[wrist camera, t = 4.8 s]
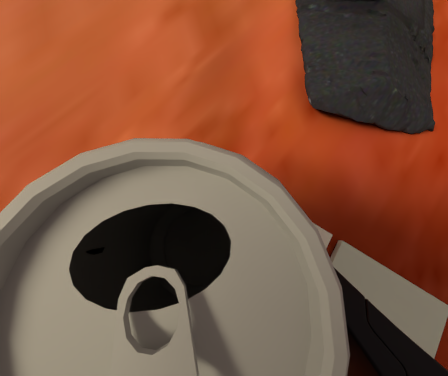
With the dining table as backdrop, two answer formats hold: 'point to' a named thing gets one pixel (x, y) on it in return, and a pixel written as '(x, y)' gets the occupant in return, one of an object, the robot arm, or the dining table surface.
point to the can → (166, 270)
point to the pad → (394, 296)
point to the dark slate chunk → (369, 60)
